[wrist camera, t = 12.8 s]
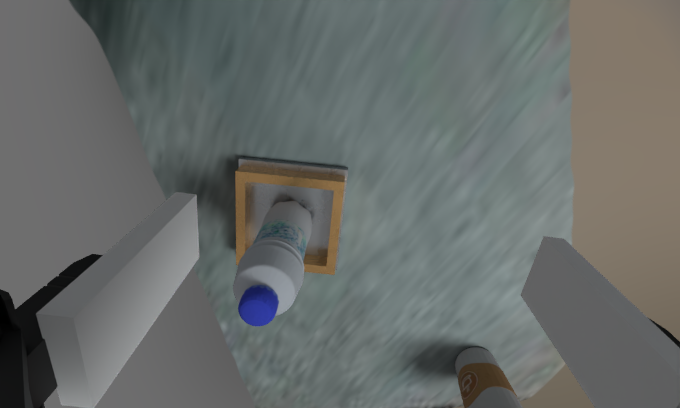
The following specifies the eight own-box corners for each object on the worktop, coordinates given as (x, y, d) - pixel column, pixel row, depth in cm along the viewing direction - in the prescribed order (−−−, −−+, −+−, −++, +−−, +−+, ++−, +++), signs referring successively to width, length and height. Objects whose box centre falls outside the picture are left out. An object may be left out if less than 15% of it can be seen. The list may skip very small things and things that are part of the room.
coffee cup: (467, 333, 58) (503, 421, 44) (510, 353, 60) (558, 444, 46) (438, 368, 61) (463, 461, 47) (479, 386, 63) (516, 481, 49)
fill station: (241, 156, 48) (232, 164, 45) (348, 167, 48) (347, 176, 45) (241, 255, 54) (234, 269, 50) (336, 265, 54) (336, 279, 51)
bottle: (282, 247, 52) (244, 356, 33) (256, 207, 50) (200, 301, 31) (324, 227, 50) (308, 330, 32) (299, 186, 48) (268, 270, 30)
